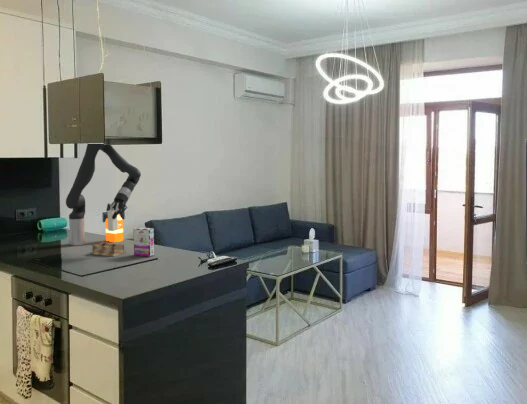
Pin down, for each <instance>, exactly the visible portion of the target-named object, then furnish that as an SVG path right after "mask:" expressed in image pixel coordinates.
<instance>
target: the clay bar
mask: <svg viewBox="0 0 527 404" xmlns="http://www.w3.org/2000/svg"><path fill="white" fill-rule="evenodd" d="M115 211H116V210H108V212H107V214H108V231H115V230H118V218H117V217H116V218H115V219H113V218H112V216H113V214H114V213H115Z"/></svg>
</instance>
